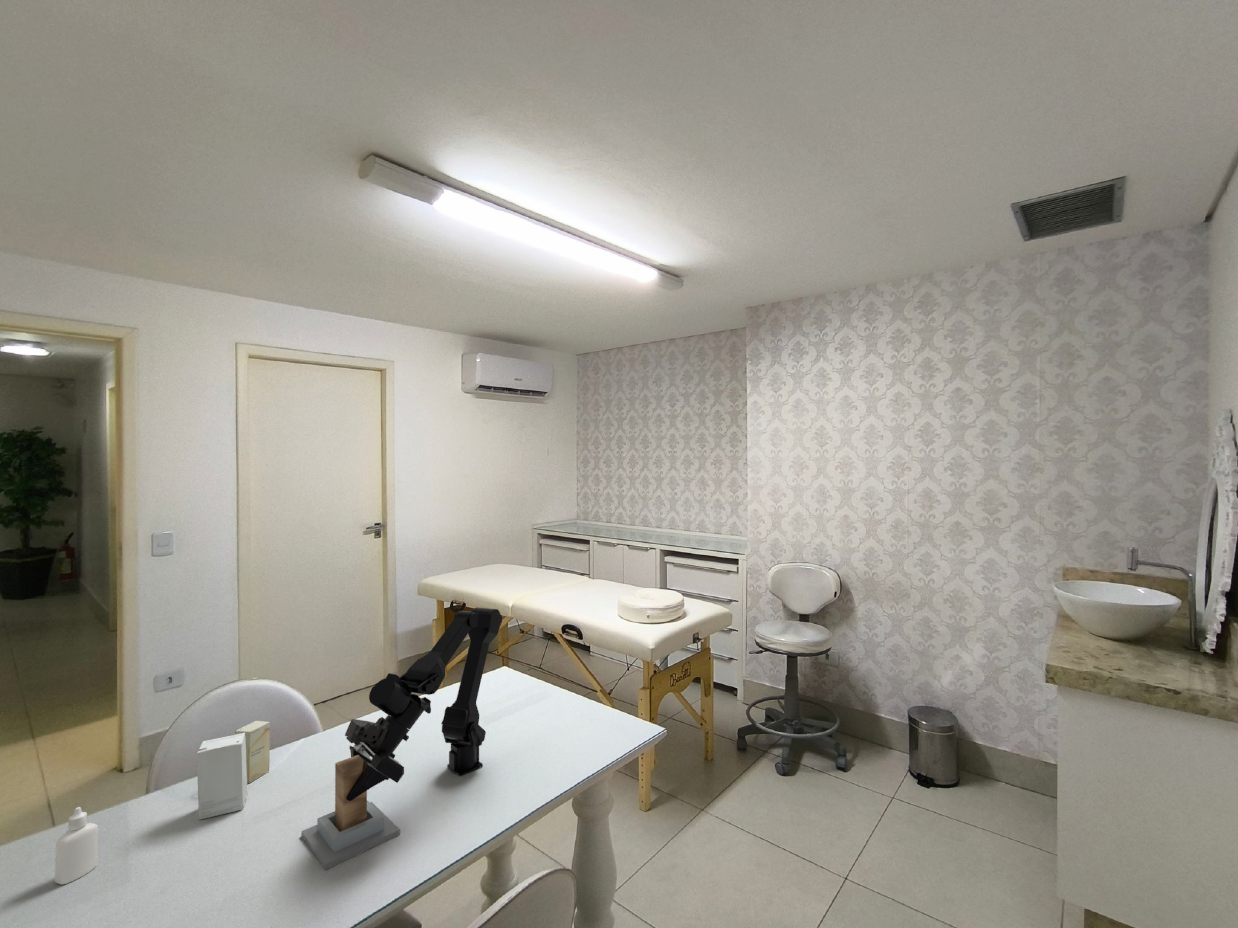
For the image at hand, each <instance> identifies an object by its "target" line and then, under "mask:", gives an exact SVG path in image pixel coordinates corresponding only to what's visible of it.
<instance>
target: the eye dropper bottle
mask: <svg viewBox="0 0 1238 928" xmlns="http://www.w3.org/2000/svg"><path fill="white" fill-rule="evenodd" d="M67 827H68V829H67V831H66V832H65V833H63V834H62V835H61V836H60V837H59V838H58V839H57V840H56V843H55V853H54V854H55V858H54V863H55V864H54V883H55V884H59V885H66V884H69V883H72V882H74V881H76V880H78V879H79V878H82V877H83V876H85V875H87V874H88V873H91V871H93V870H94V869H95V868H96V867H97V866H98V863H99V862H98V861H99V826H98V825H97V824H96V823H93V822H88V813H87V812H86V811H82V807H81V806H77V807H76V808H75V810H74V813H73V814H72V815H70V816H69V818H68V826H67Z"/></svg>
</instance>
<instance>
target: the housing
mask: <svg viewBox="0 0 1238 928" xmlns="http://www.w3.org/2000/svg"><path fill="white" fill-rule="evenodd" d="M316 821H317V822H316V823H317V824H315V825H313V826H311V827H308V828H305V829H303V830H301V831H300V832H301V838H302V839H303V840H304V841H305V843H306V845H307V846H308V847H309V849H310V850H311V851H312V853H313V854H314V855H315V857H316V859H318V862H319V863H320V864H321V865H322V867H323V868H324V870H328V869H330V868H332V867H334V866H336V865H338V864H341V863H343V862H345V861H348V860H349V859H350V858H351V859H352V858H353V857H355V856H357V855H359V854H362V853H363V852H366V851H368V850H370V849H372V848H374V847H377V846H378V845H381V844H383V843H385V842H387V841H389V840H391V839H393V838H395V837H397V836H400V835H401V829H400V828H399V827H398V826H397V825H396V824H395V823H394V822H393V821H392V820H391V819H390V818H389V817H388V816H387V815H386V814H385V813H384V812H383V811H382V810H381V809H380V808H379V807H378V806H377V805H376V804H375V803H373V802H372V801H368V800H367V820H366V821H364V822H362V823H360V824H357V825H355V826H353V827H350V828H348V829H346V830H344V831H341V832H340V831H339V829H338V828H337V827H336V826H335V810H334V811H332V812H329V813H327V814H324V815H322V816H319V817H318V818H317V820H316Z"/></svg>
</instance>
